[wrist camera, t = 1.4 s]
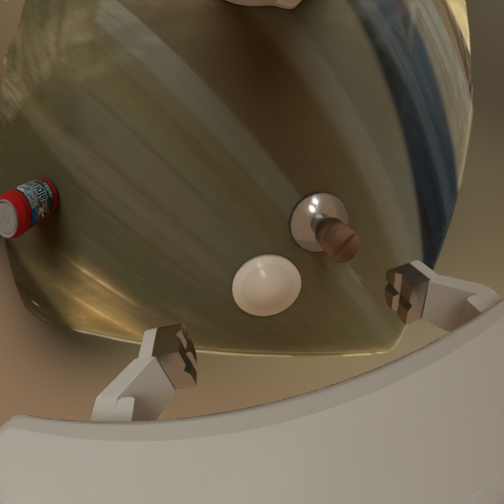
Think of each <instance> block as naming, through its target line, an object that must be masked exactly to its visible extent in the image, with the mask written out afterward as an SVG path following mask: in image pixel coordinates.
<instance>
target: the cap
mask: <svg viewBox="0 0 504 504" xmlns="http://www.w3.org/2000/svg"><path fill="white" fill-rule="evenodd" d="M315 237H316V241H317V242H318V244H319V245H320V246H321V247H322V248H323V249H324V251H325V252H326V253H327V254H328V255H329V256H330V258H331V259H332V260H334V261H336V262H346V261H348V260H350V259H351V258H353V257H354V256H355V254H356V253H357V251H358V249H359V245H360V239H359V237H358V235H357V234H356V233H355V232H354V231H353V230H352V229H350V228H349V227H348V226H347V225H345V224H344V223H343V222H342V221H340V220H339V219H337V218H334V217H330V218H326V219H324V220H323V221H321V222H320V223H319V225H318V226H317V228H316V232H315Z"/></svg>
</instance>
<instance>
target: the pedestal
mask: <svg viewBox="0 0 504 504" xmlns="http://www.w3.org/2000/svg"><path fill="white" fill-rule="evenodd" d="M330 217H334V218H337V219H339V220H340V221H342V222H343V223H344V224H345V225H348V214H347V210H346V208H345V206H344V204H343V203H342V202H341V201H340V200H339V199H338V198H337V197H335V196H333V195H332V194H329V193H325V192H316V193H312V194H309V195H307V196H305V197H304V198H302V199H301V200H300V201H299V202H298V203H297V204H296V206H295V207H294V209H293V211H292V213H291V216H290V222H289V227H290V232H291V234H292V237H293V238H294V240H295V241H296V243H297V244H298V245H299V246H301V247H302V248H303V249H305V250H308V251H313V252H320V251H324V249H323V248H322V247H321V246H320V245H319V244H318V242H317V241H316V237H315V232H316V228H317V226H318V225H319V223H320V222H321V221H323V220H324V219H326V218H330Z"/></svg>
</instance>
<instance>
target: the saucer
mask: <svg viewBox="0 0 504 504" xmlns="http://www.w3.org/2000/svg"><path fill="white" fill-rule="evenodd" d="M300 289H301V277H300V274H299V272H298V270H297V268H296V267H295V265H294V264H293V263H292V262H291V261H290V260H289V259H287V258H285V257H283V256H281V255H277V254H262V255H258V256H255V257H253V258H251V259H249V260H247V261H246V262H244V263H243V264H242V265H241V266H240V267H239V268H238V270H237V271H236V273H235V275H234V277H233V281H232V292H233V297H234V300H235V302H236V303H237V305H238V306H239V307H240V308H241V309H242V310H244V311H245V312H247V313H249V314H252V315H257V316H269V315H274V314H277V313H279V312H282V311H283V310H285V309H287V308H288V307H289V306H290V305H291V304H292V303H293V302H294V301H295V300H296V298H297V297H298V295H299V292H300Z"/></svg>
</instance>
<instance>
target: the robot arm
mask: <svg viewBox="0 0 504 504" xmlns="http://www.w3.org/2000/svg"><path fill="white" fill-rule="evenodd" d="M226 1H229V2H232V3H235V4H239V5H245V6H267V5H272V6H277V7H280V8H285V9H293V8H295V7H296V6H297V5H298V4H299V3H300V2H301V1H302V0H226ZM386 280H387V282H388V284H387V286H386V288H385V299H386V302H387V304H388V306H389V307H390V308H391V309H392V310H395V311H397V316H398V317H399V318H400V319H401V320H402V321H403V322H404V324H405V325H406V324H409V323H411V322H413V321H416V320H418V319H421V318H422V320H424V321H427V322H429V323H431V324H433V325H435V326H438V327H440V328H442V329H444V330H447V331H449V332H450V333H448V334H446V335H444V336H442V337H441V338H439V339H437V340H435V341H433V342H431V343H429V344H427V345H426V346H424V347H422V348H420V349H418V350H416V351H414V352H411V353H409V354H408V355H405V356H403V357H401V358H399V359H396V360H394V361H392V362H390V363H387V364H385V365H383V366H380V367H378V368H375V369H373V370H371V371H368V372H365V373H363V374H360V375H358V376H355V377H353V378H350V379H347V380H344V381H341V382H339V383H336V384H333V385H330V386H327V387H324V388H320V389H317V390H314V391H311V392H307V393H304V394H301V395H297V396H294V397H290V398H286V399H282V400H279V401H274V402H270V403H266V404H262V405H257V406H253V407H248V408H243V409H238V410H233V411H227V412H221V413H215V414H209V415H201V416H194V417H186V418H176V419H165V420H157V419H158V417H159V416H160V414H161V412H162V411H163V409H164V408H165V406H166V405H167V403H168V401H169V400H170V398H171V397H172V395H173V394H174V392H175V389H178V388H185V387H191V386H196V385H197V382H196V381H197V373H196V370H195V368H194V366H195V365H196V363H197V362H196V361H197V358H196V352H195V348H194V345H193V343H192V340H190V339H189V338H187V336H188V331H187V329H186V327H185V325H184V324H177V325H171V326H165V327H159V328H154V329H148V330H146V331H145V332H144V336H143V340H142V344H141V348H140V352H139V356H138V359H135V360H133V361H132V362H131V363H130V364H129V365H128V366H127V367H126V368H125V370H123V371H122V372H121V374H119V375H118V377H116V379H114V380H113V381H112V382H111V384H110V385H108V387H107V388H106V389H105V390H104V391H103V392H102V393H101V394H100V395H99V396H98V397H97V398H96V402H95V405H94V409H93V413H92V416H91V420H90V421H76V420H64V419H54V418H45V417H37V416H32V415H26V414H18V415H16V416H14V417H13V418H11V419H10V420H8V421H7V422H6V423H5V424H4V425H2V426H1V427H0V504H504V298H501V297H500V296H499V295H498V294H497V293H495V292H494V291H493V290H492V289H490V288H489V287H487V286H485V285H481V284H477V283H473V282H468V281H464V280H460V279H456V278H452V277H447V276H439V275H438V274H436V273H435V272H434V271H432V270H431V269H430V268H428V267H427V266H426V265H424V264H423V263H422V262H420V261H419V260H414V261H411V262H409V263H407V264H404V265H401V266H398V267H395V268H392V269H390V270H388V271H387V273H386Z"/></svg>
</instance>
